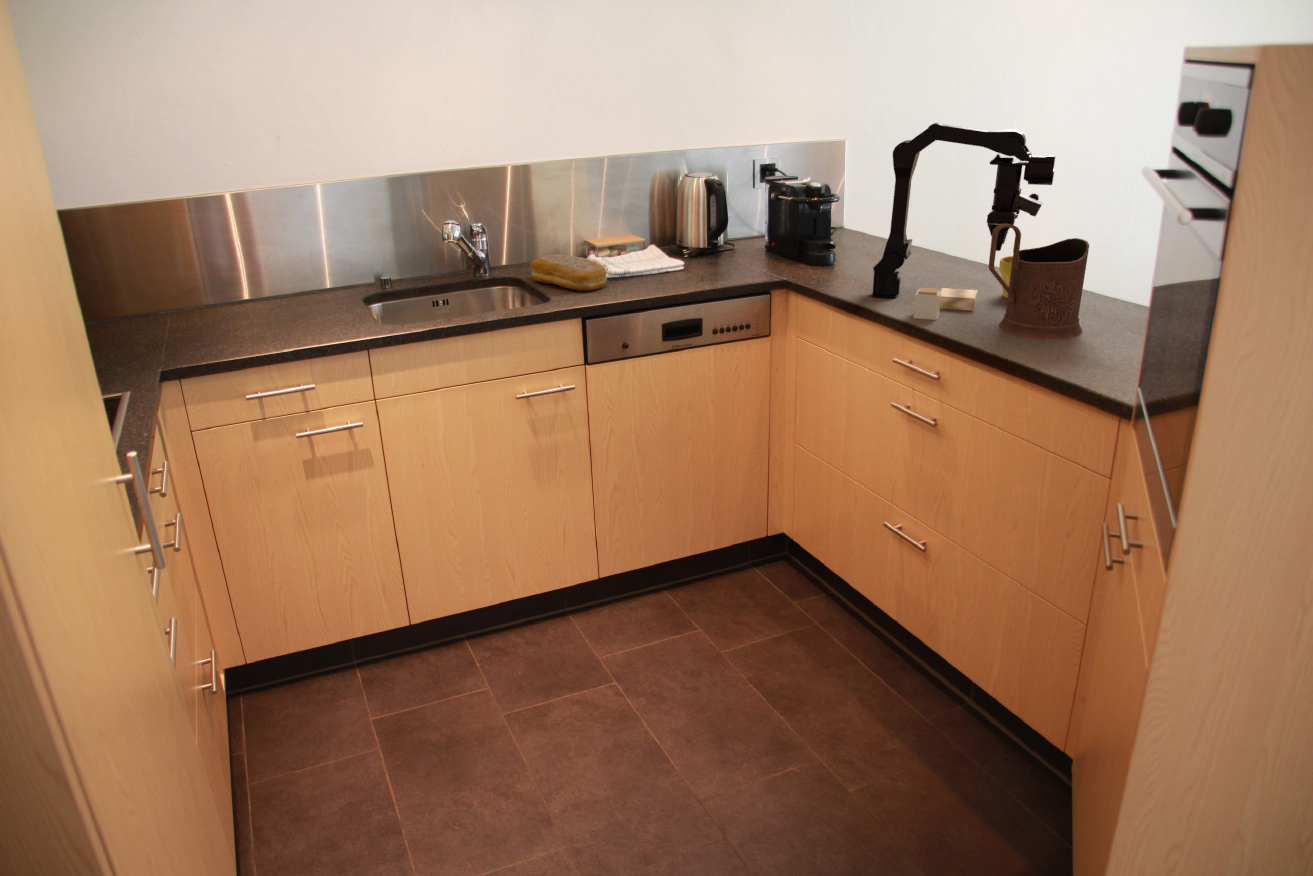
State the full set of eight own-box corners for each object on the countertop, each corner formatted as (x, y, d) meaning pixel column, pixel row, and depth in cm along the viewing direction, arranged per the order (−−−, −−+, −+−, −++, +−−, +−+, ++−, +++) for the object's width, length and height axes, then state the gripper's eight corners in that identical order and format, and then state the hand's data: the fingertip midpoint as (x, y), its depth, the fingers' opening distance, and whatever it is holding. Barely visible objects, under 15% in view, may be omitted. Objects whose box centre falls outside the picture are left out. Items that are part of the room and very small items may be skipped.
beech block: (936, 309, 237) (937, 295, 236) (940, 300, 245) (941, 287, 244) (973, 312, 234) (975, 298, 233) (976, 303, 242) (977, 290, 240)
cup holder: (1100, 335, 212) (1118, 224, 202) (1004, 344, 207) (1018, 231, 197) (1051, 315, 228) (1066, 211, 219) (962, 323, 224) (973, 218, 214)
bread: (555, 274, 284) (553, 248, 281) (618, 286, 268) (617, 259, 265) (522, 283, 275) (520, 256, 272) (585, 295, 259) (583, 267, 256)
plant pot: (1040, 302, 240) (1045, 264, 236) (998, 301, 242) (1003, 263, 238) (1033, 292, 249) (1038, 255, 245) (993, 291, 251) (997, 255, 247)
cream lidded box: (913, 318, 229) (915, 291, 226) (916, 312, 234) (918, 286, 231) (936, 320, 227) (939, 293, 224) (939, 314, 232) (941, 288, 229)
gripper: (1040, 190, 217) (1031, 256, 224) (1045, 179, 233) (1036, 242, 239) (990, 188, 222) (982, 253, 228) (998, 178, 237) (990, 239, 243)
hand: (999, 247), depth 234 cm, fingers open, 9 cm apart
